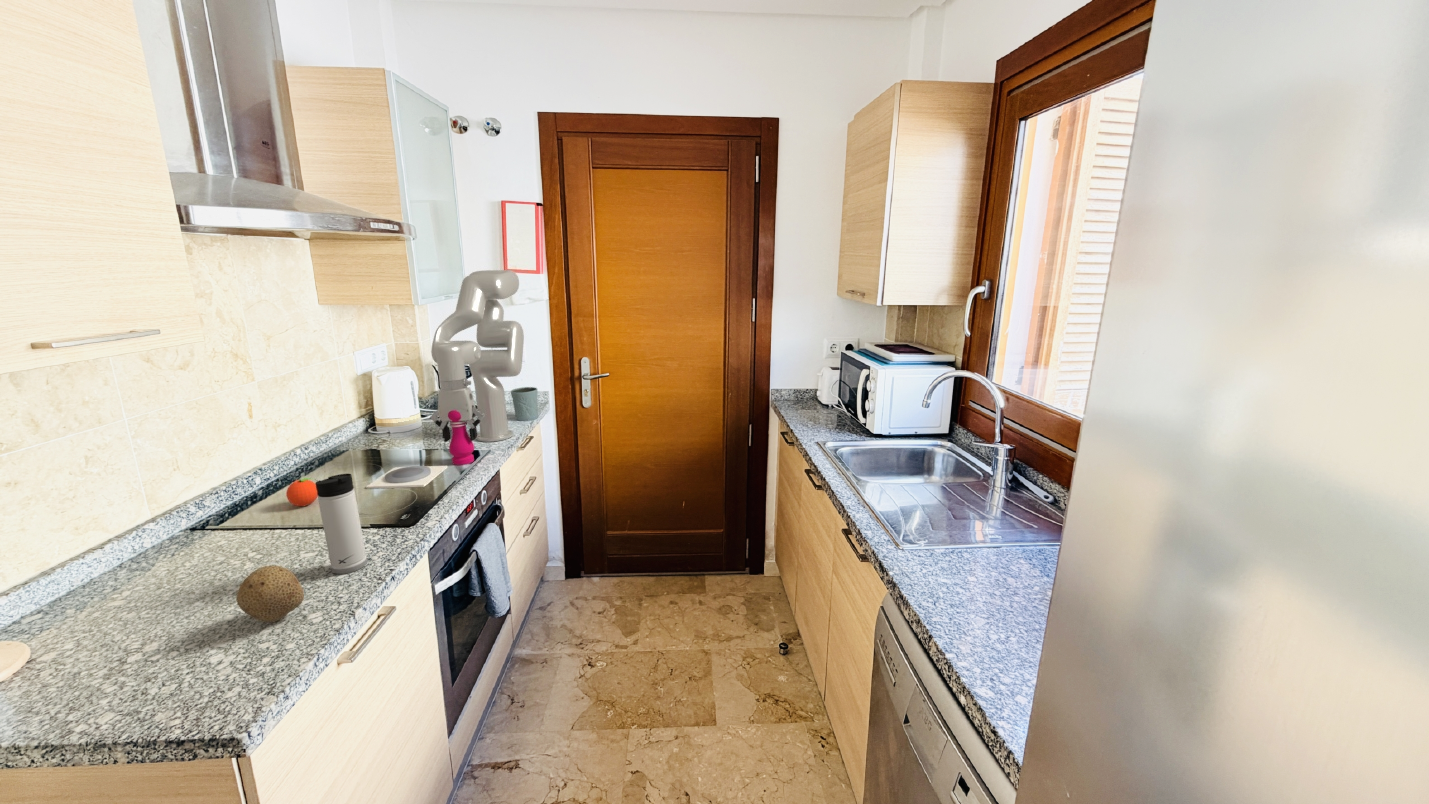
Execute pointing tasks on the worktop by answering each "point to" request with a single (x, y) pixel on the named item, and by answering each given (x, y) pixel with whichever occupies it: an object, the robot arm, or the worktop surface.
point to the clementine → (302, 492)
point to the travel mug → (341, 523)
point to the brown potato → (270, 593)
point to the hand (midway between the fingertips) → (460, 439)
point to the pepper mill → (460, 440)
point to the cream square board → (407, 477)
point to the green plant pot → (525, 403)
